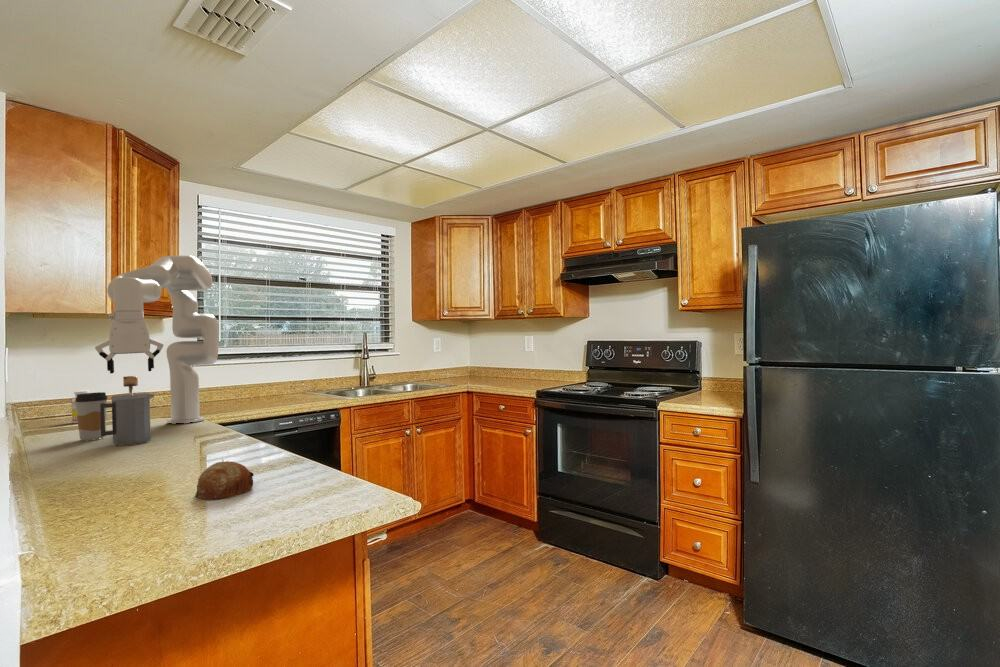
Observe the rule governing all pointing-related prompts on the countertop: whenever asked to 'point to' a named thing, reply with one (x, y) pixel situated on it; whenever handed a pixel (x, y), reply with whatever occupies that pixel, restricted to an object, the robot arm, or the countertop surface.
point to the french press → (128, 418)
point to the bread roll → (224, 481)
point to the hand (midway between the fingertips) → (131, 372)
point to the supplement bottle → (74, 408)
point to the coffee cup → (89, 414)
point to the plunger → (130, 382)
